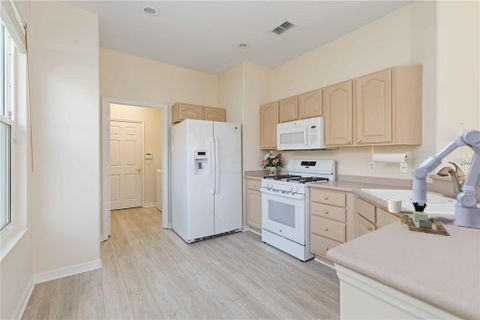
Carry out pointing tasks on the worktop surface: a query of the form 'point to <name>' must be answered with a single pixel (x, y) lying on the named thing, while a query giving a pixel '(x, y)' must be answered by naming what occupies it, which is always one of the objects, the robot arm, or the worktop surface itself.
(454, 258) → the worktop surface
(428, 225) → the block
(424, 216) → the block
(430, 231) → the twin wooden rails
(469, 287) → the worktop surface
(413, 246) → the worktop surface
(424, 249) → the worktop surface
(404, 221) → the tan textured block
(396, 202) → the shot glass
